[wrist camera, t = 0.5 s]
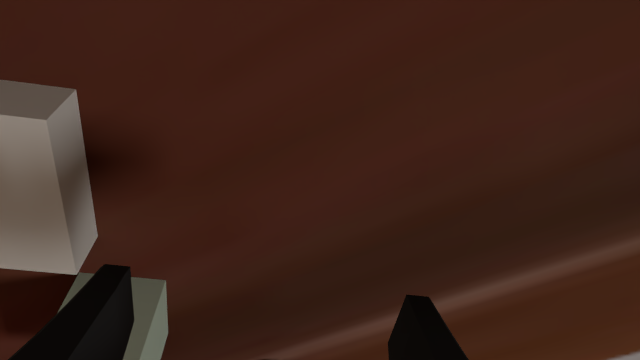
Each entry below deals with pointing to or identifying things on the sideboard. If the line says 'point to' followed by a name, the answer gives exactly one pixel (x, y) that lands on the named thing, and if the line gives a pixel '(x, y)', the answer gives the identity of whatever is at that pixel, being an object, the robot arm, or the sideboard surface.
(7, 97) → the grey base
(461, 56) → the sideboard surface
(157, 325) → the green block
